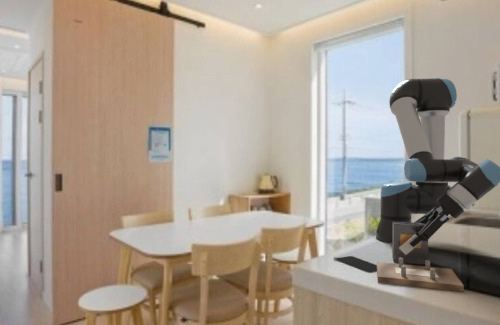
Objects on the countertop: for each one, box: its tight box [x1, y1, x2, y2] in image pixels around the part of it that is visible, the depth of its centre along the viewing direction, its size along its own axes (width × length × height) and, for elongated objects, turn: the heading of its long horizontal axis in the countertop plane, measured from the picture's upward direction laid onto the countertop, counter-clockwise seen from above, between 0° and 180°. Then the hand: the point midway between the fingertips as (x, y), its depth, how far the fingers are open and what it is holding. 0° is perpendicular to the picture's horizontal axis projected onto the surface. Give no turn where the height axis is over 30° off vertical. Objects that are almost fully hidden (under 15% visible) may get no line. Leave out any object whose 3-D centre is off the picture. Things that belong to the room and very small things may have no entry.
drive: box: [391, 222, 429, 265], centre depth 114 cm, size 10×5×12 cm, turn 72°
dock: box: [376, 258, 465, 292], centre depth 97 cm, size 20×14×4 cm
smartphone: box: [335, 255, 377, 274], centre depth 110 cm, size 7×1×15 cm
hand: (400, 246), depth 115 cm, fingers open, 11 cm apart
